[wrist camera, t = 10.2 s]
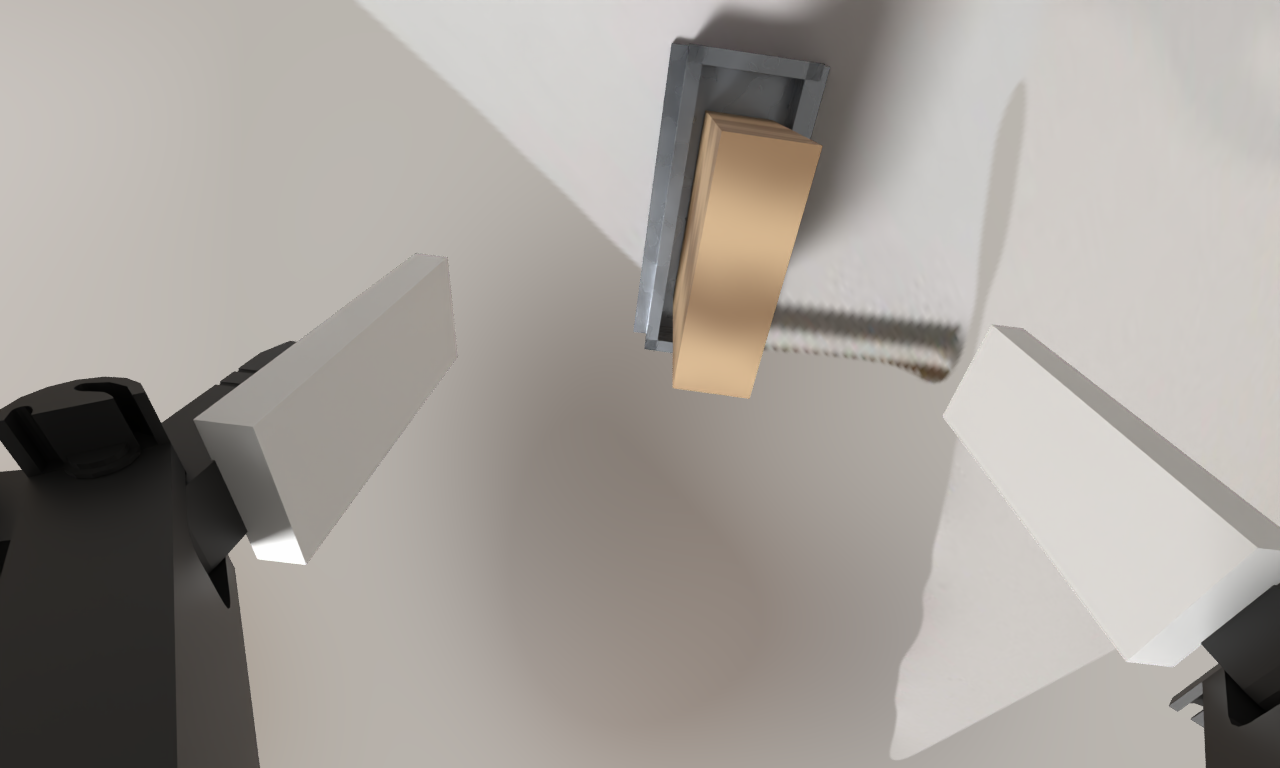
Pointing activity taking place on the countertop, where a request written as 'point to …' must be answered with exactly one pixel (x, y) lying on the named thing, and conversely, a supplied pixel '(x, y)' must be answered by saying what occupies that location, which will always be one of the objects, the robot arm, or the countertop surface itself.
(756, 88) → the track
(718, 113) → the panel
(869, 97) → the countertop surface
